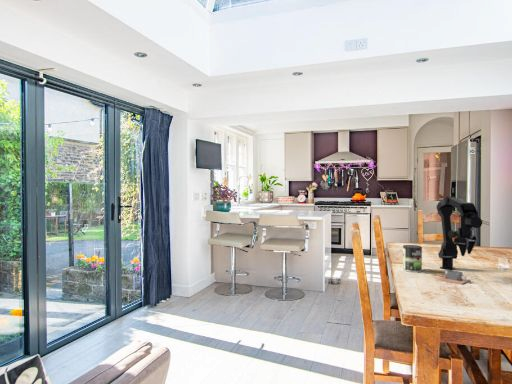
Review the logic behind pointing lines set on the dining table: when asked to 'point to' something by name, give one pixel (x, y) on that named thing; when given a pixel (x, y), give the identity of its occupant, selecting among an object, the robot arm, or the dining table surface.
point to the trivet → (453, 280)
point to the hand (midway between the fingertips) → (466, 255)
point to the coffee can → (412, 258)
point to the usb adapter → (454, 275)
